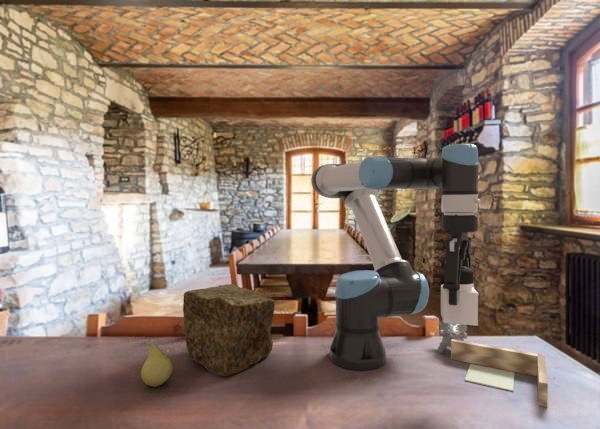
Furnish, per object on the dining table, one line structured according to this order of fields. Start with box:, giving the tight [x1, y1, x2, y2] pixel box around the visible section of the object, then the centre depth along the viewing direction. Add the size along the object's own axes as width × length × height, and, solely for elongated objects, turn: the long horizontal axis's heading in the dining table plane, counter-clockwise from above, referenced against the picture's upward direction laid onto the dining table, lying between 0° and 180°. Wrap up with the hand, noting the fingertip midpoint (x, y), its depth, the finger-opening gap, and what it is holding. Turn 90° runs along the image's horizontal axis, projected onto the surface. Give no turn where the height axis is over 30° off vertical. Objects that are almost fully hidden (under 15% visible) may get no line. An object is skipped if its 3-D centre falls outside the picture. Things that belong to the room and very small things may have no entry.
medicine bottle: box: [440, 266, 480, 326], centre depth 85 cm, size 7×7×12 cm
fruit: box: [140, 340, 173, 388], centre depth 88 cm, size 7×8×12 cm
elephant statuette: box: [437, 320, 468, 354], centre depth 108 cm, size 9×12×8 cm
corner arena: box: [450, 339, 549, 408], centre depth 90 cm, size 21×16×5 cm
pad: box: [464, 363, 516, 392], centre depth 91 cm, size 10×10×1 cm
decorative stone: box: [182, 283, 275, 377], centre depth 102 cm, size 21×20×20 cm
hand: (458, 313), depth 85 cm, fingers closed on medicine bottle, 9 cm apart
